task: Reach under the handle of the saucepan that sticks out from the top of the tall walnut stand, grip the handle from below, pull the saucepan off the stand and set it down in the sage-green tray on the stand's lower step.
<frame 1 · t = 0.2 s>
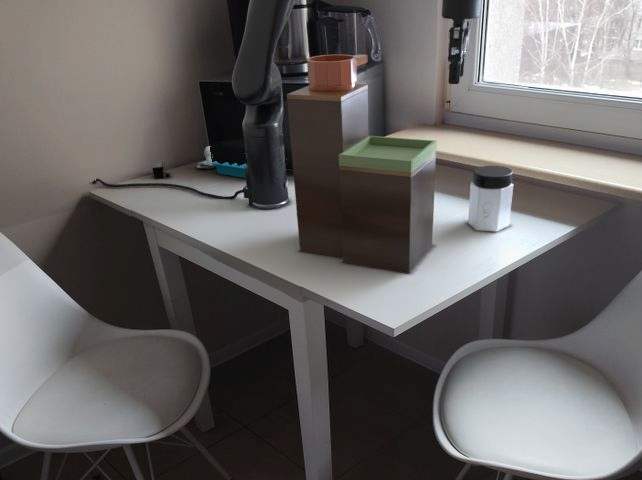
hand: (455, 80, 129), 29 cm above the table, tool pointing down, fingers open, 8 cm apart
ice cube tray: (251, 172, 179), on the table
wireless earbuds: (162, 176, 179), on the table
tray: (388, 158, 116), resting on stand
stand: (364, 250, 129), on the table
saucepan: (332, 87, 117), point 31 cm above the table, touching stand
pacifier: (208, 167, 185), on the table
jar: (488, 225, 138), on the table
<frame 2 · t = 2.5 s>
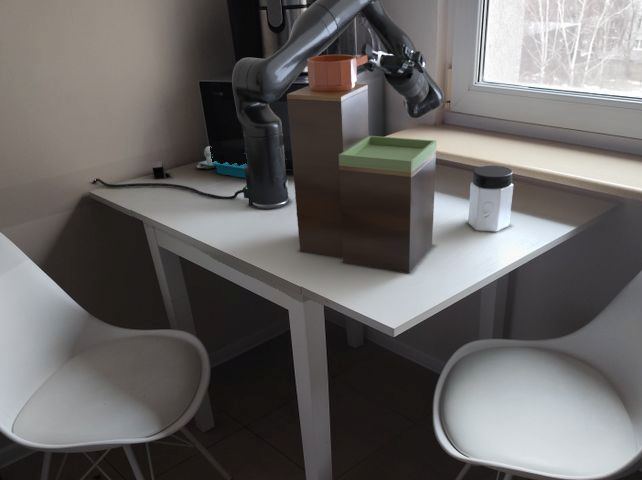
hand: (382, 47, 134), 34 cm above the table, tool pointing upward, fingers open, 8 cm apart
nothing on the table moved.
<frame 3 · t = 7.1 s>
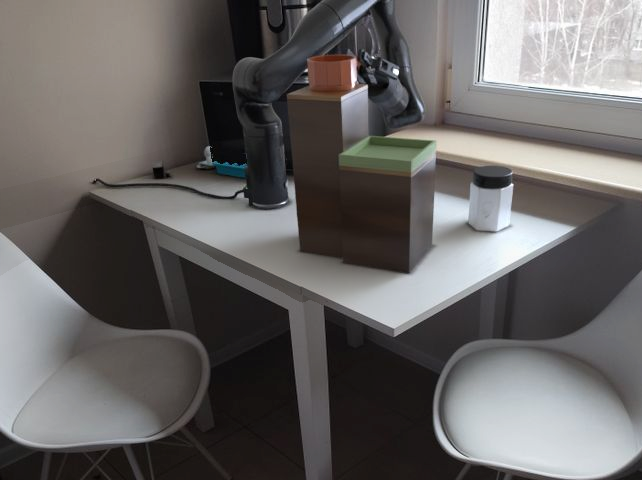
hand: (352, 53, 122), 35 cm above the table, tool pointing upward, fingers closed on saucepan, 2 cm apart
saucepan: (332, 87, 117), point 31 cm above the table, touching gripper, stand
everything else where it was.
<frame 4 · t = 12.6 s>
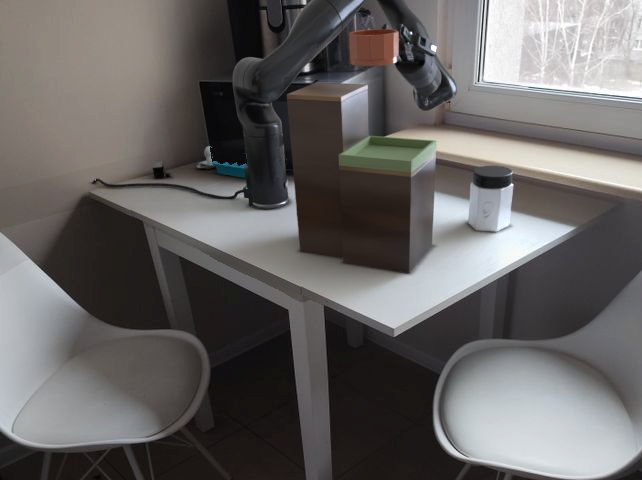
hand: (391, 29, 120), 39 cm above the table, tool pointing upward, fingers closed on saucepan, 2 cm apart
saucepan: (373, 62, 116), point 35 cm above the table, touching gripper
everything else where it was.
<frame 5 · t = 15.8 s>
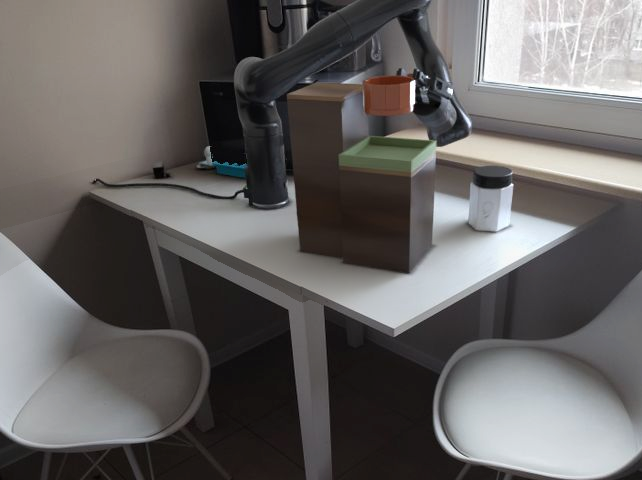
hand: (407, 73, 116), 33 cm above the table, tool pointing upward, fingers closed on saucepan, 2 cm apart
saucepan: (388, 110, 111), point 28 cm above the table, touching gripper
everything else where it was.
when the fingers open (24 cm above the table, at t = 18.2 s): saucepan stays where it is, resting on tray.
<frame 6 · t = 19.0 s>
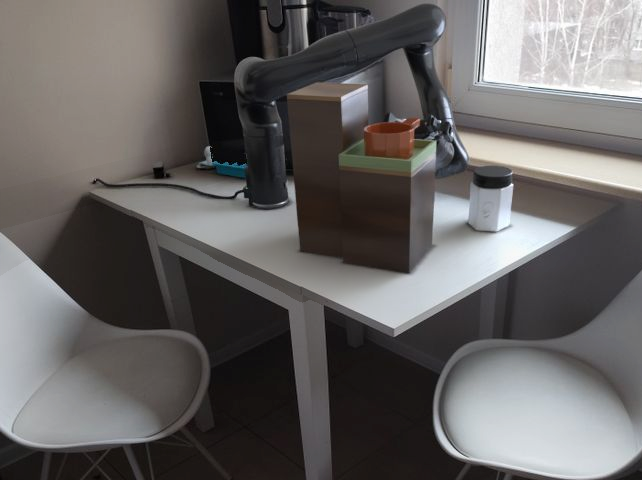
hand: (408, 118, 121), 24 cm above the table, tool pointing upward, fingers open, 8 cm apart
saucepan: (388, 155, 116), point 20 cm above the table, touching tray
everything else where it was.
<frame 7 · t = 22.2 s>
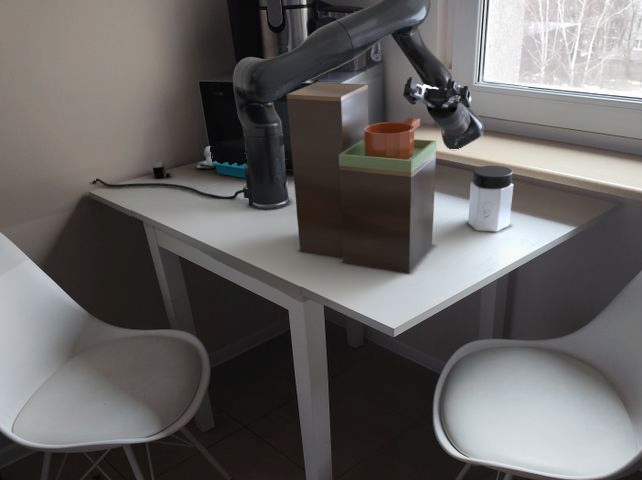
hand: (429, 82, 128), 29 cm above the table, tool pointing upward, fingers open, 8 cm apart
nothing on the table moved.
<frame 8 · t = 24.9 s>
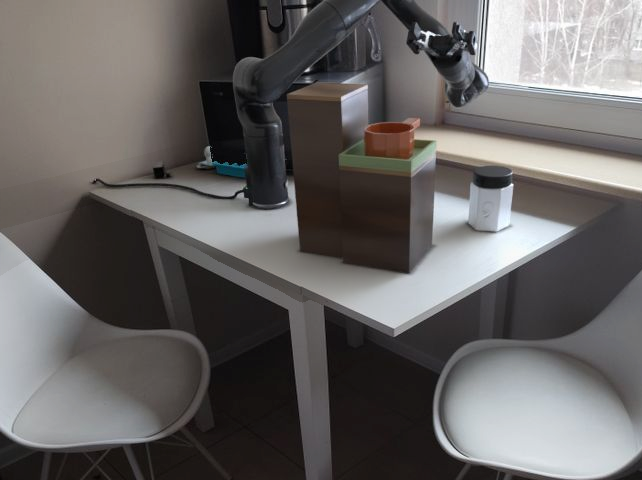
hand: (433, 26, 124), 39 cm above the table, tool pointing upward, fingers open, 8 cm apart
nothing on the table moved.
at the end: saucepan 0.0 cm off-centre on the tray, point 0.5 cm above the tray's base; saucepan tilted 0°; the gripper is holding nothing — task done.
